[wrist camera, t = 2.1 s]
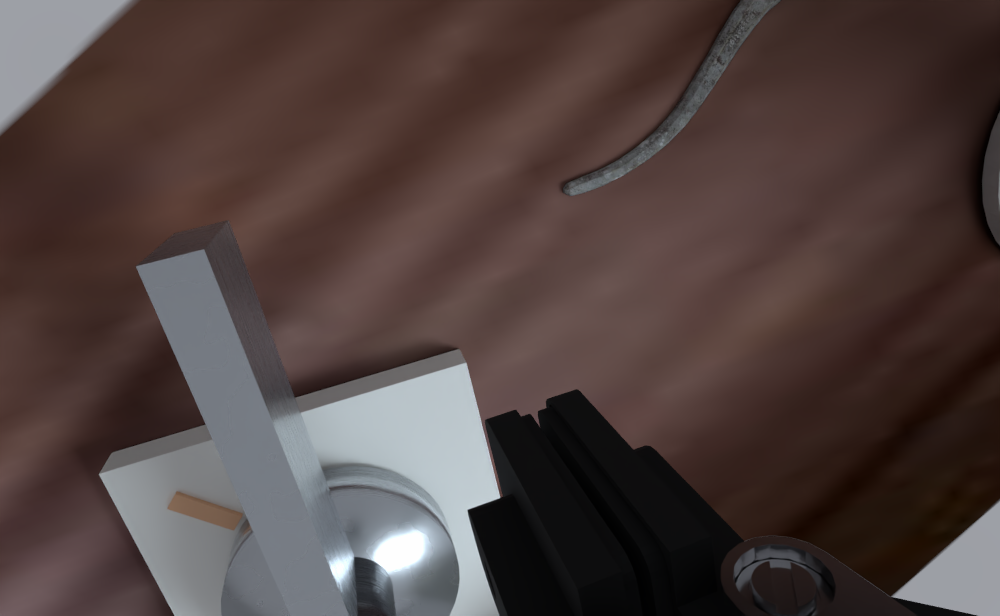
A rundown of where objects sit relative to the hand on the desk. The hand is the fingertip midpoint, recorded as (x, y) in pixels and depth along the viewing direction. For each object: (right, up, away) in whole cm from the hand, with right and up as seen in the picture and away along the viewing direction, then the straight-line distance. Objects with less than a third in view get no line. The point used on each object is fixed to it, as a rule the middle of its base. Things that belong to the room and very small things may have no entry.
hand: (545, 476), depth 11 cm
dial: (-8, -3, +13) cm, 16 cm away
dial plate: (-8, -7, +17) cm, 20 cm away
